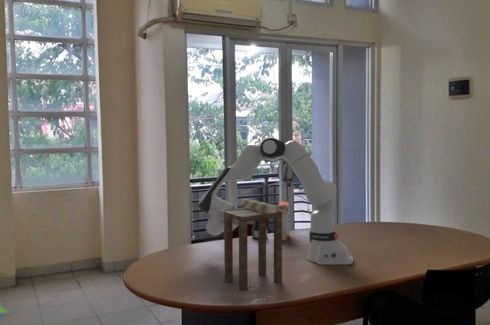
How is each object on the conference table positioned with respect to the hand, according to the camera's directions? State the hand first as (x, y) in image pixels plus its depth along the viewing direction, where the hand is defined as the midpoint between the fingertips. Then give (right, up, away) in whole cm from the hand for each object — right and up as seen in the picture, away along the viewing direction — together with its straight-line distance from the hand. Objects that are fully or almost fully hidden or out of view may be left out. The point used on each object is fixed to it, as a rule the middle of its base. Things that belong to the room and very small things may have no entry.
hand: (238, 208), depth 211 cm
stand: (+6, -29, -16) cm, 34 cm away
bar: (+8, +1, -13) cm, 15 cm away
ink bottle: (+12, -24, +62) cm, 67 cm away
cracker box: (+26, -24, +61) cm, 70 cm away
